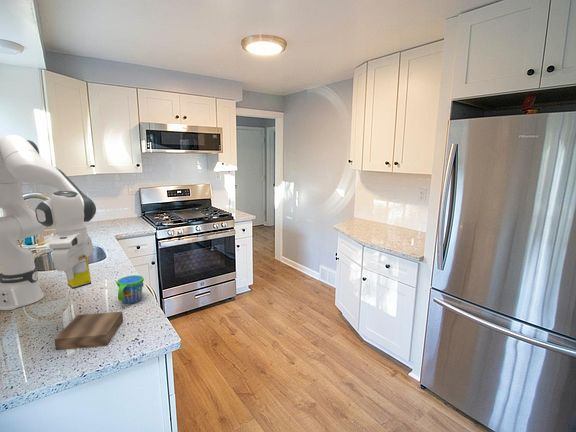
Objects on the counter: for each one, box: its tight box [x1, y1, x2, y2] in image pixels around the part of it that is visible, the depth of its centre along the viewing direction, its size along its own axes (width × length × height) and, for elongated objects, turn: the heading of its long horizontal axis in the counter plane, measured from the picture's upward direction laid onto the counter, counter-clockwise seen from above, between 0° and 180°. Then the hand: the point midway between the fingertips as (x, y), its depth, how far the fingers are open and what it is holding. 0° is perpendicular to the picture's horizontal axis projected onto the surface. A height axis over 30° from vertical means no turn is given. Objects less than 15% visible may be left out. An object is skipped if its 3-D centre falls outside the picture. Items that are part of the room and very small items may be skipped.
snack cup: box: [116, 274, 144, 304], centre depth 138 cm, size 16×10×10 cm
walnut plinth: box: [54, 311, 124, 351], centre depth 112 cm, size 16×16×4 cm
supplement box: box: [65, 255, 92, 290], centre depth 111 cm, size 6×6×11 cm
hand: (78, 273), depth 111 cm, fingers closed on supplement box, 8 cm apart
